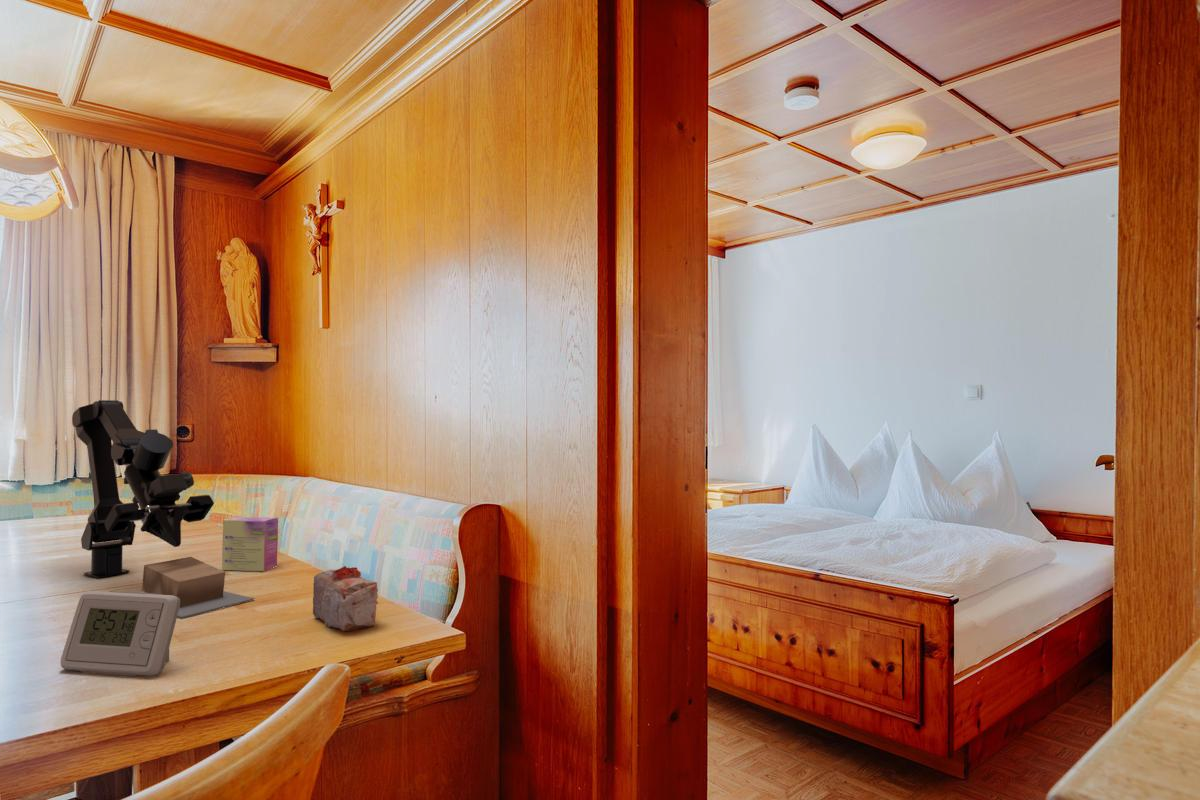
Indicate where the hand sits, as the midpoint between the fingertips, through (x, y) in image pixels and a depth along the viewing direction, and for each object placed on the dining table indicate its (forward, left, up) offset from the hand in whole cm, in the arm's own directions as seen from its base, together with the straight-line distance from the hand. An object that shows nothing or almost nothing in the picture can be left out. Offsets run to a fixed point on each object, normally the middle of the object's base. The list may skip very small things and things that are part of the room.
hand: (178, 545), depth 138 cm
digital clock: (+30, -25, -11) cm, 41 cm away
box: (-11, +23, -11) cm, 28 cm away
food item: (+40, +6, -11) cm, 42 cm away
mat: (+7, 0, -10) cm, 12 cm away
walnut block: (-4, 0, -6) cm, 7 cm away
